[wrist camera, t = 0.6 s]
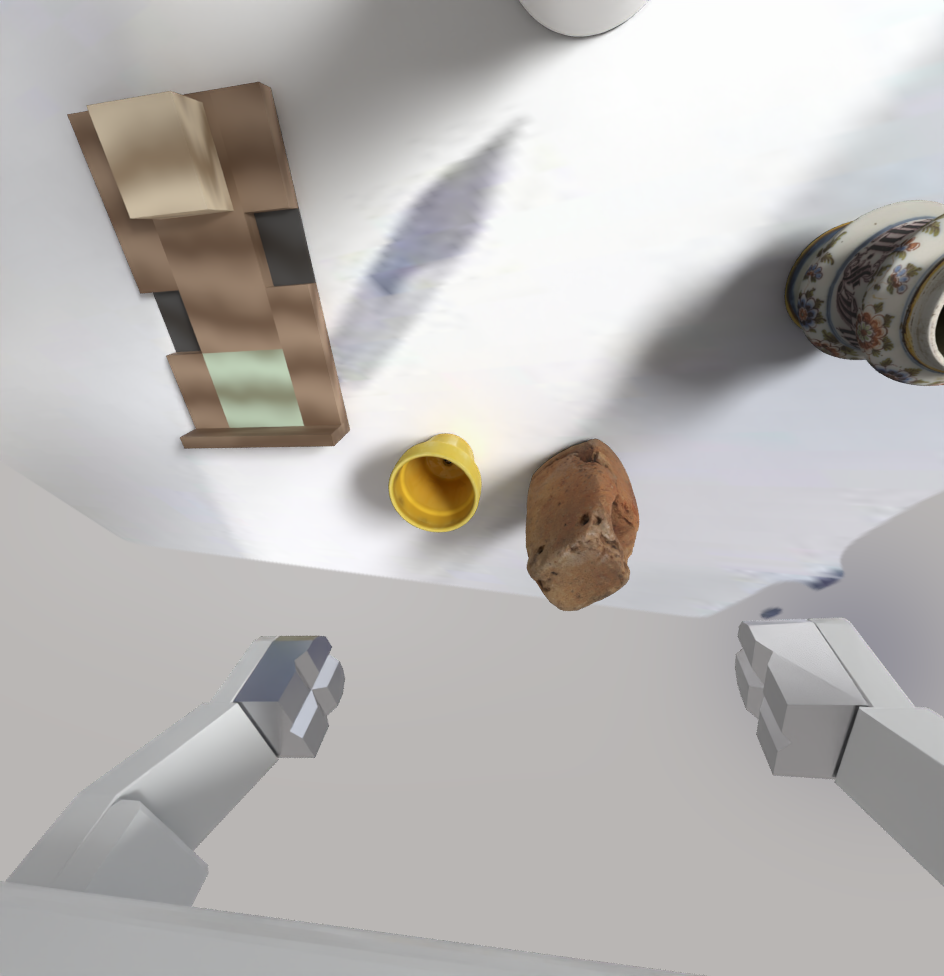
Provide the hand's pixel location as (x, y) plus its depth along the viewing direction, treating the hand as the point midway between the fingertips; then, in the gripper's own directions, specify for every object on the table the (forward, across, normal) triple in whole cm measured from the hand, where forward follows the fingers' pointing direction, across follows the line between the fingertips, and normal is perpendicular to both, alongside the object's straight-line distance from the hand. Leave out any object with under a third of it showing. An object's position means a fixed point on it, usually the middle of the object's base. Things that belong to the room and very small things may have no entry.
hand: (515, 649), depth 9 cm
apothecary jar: (+45, -28, +3) cm, 53 cm away
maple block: (+43, +33, -19) cm, 58 cm away
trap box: (+45, +34, -7) cm, 57 cm away
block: (+45, -2, +20) cm, 49 cm away
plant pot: (+45, +14, +16) cm, 50 cm away
